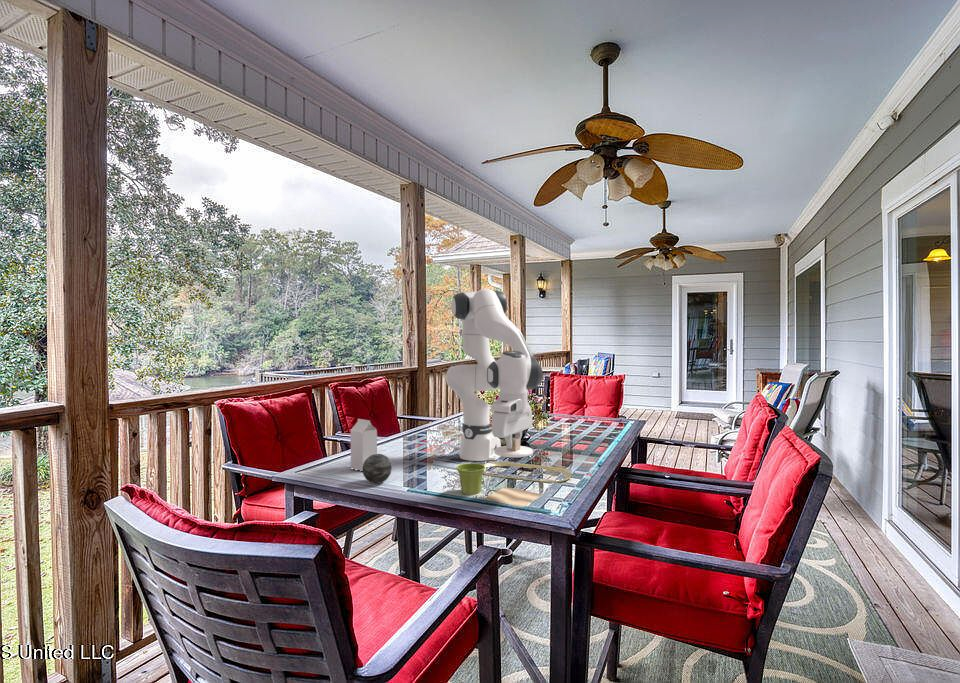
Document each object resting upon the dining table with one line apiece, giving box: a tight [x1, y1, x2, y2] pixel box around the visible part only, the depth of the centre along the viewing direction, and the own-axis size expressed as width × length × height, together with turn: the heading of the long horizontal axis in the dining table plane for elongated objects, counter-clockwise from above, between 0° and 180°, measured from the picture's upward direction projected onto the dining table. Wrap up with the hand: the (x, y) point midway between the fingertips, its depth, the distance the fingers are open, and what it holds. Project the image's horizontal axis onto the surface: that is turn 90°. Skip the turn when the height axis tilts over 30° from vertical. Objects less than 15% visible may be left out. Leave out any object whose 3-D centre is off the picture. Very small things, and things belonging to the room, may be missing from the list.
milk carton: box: [350, 418, 378, 472], centre depth 187 cm, size 7×7×19 cm
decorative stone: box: [362, 453, 393, 484], centre depth 169 cm, size 10×10×10 cm
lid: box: [495, 436, 534, 458], centre depth 153 cm, size 12×12×4 cm
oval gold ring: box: [483, 461, 572, 484], centre depth 180 cm, size 19×35×2 cm, turn 67°
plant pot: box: [456, 462, 486, 496], centre depth 158 cm, size 9×9×9 cm
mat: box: [482, 486, 544, 509], centre depth 153 cm, size 14×14×1 cm
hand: (513, 446), depth 153 cm, fingers closed on lid, 3 cm apart
